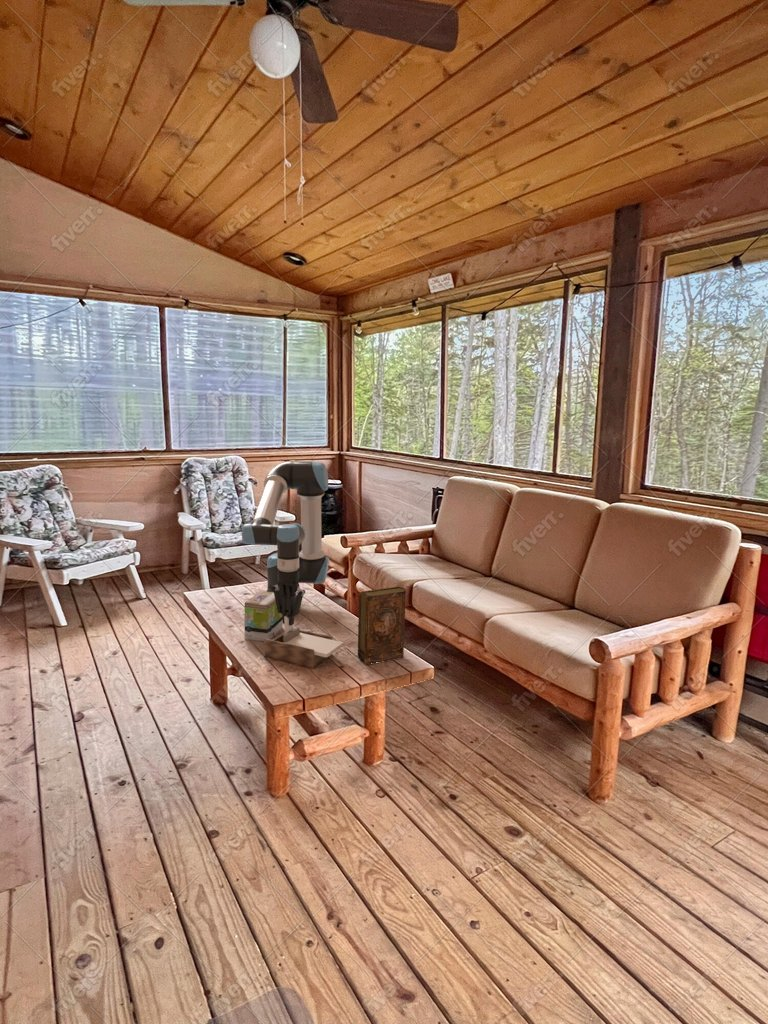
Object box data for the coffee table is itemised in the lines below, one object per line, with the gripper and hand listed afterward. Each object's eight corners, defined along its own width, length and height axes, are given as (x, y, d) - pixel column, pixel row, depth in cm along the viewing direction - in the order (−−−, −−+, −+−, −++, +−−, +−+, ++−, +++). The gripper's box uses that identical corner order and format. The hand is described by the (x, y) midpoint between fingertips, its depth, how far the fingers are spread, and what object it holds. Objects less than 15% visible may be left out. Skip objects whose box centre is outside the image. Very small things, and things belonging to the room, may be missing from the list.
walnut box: (264, 657, 206) (264, 639, 205) (285, 643, 218) (285, 626, 217) (313, 669, 198) (313, 650, 197) (332, 654, 210) (332, 636, 208)
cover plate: (281, 646, 203) (280, 636, 203) (299, 635, 213) (299, 625, 213) (326, 657, 196) (326, 646, 195) (343, 645, 206) (343, 635, 205)
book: (398, 651, 214) (400, 586, 209) (405, 657, 209) (408, 590, 204) (357, 659, 206) (358, 591, 202) (364, 666, 201) (365, 596, 197)
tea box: (268, 642, 219) (268, 604, 216) (243, 639, 221) (243, 602, 218) (283, 627, 233) (283, 592, 231) (259, 625, 235) (259, 590, 233)
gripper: (266, 568, 203) (266, 633, 207) (297, 574, 198) (297, 640, 202) (279, 563, 210) (279, 626, 214) (309, 569, 204) (309, 632, 209)
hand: (288, 633), depth 208 cm, fingers closed
